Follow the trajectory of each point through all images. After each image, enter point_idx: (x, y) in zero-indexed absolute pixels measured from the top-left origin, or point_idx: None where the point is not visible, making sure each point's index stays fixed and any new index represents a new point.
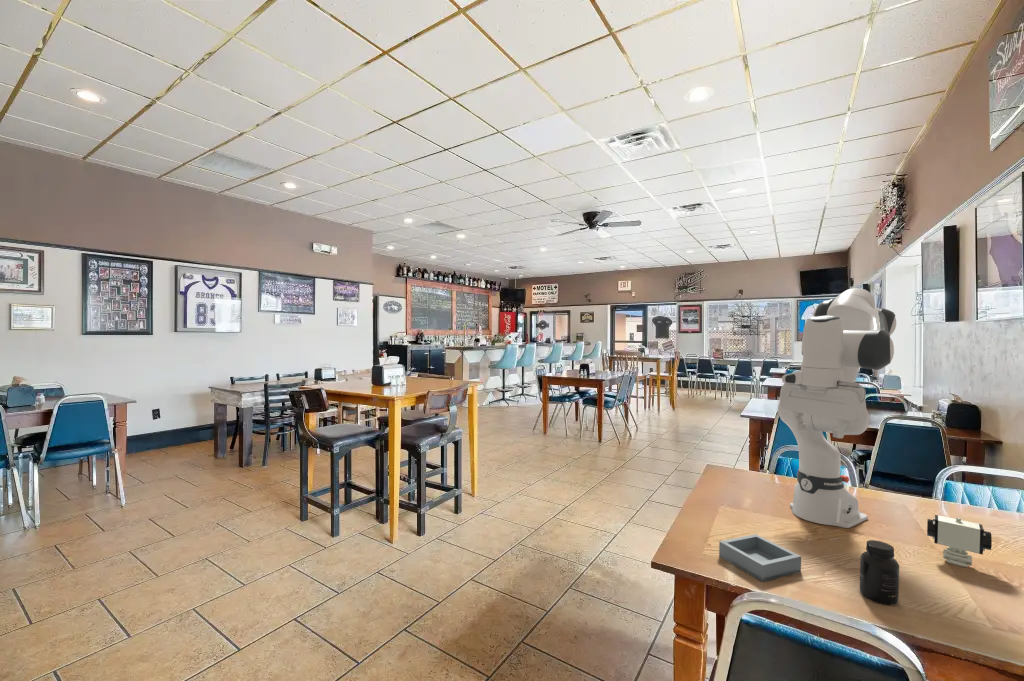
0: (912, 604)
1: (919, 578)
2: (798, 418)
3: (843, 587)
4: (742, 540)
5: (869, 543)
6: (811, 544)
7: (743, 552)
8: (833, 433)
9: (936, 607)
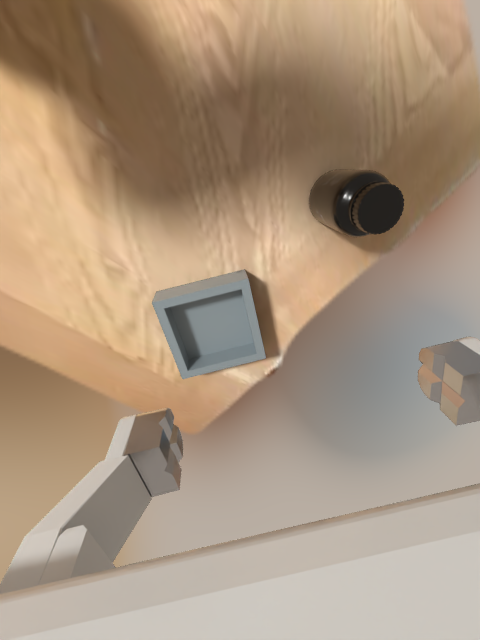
0: (363, 154)
1: (302, 15)
2: (112, 534)
3: (296, 233)
4: (176, 339)
5: (368, 228)
6: (132, 149)
7: (224, 363)
8: (442, 405)
9: (382, 115)
